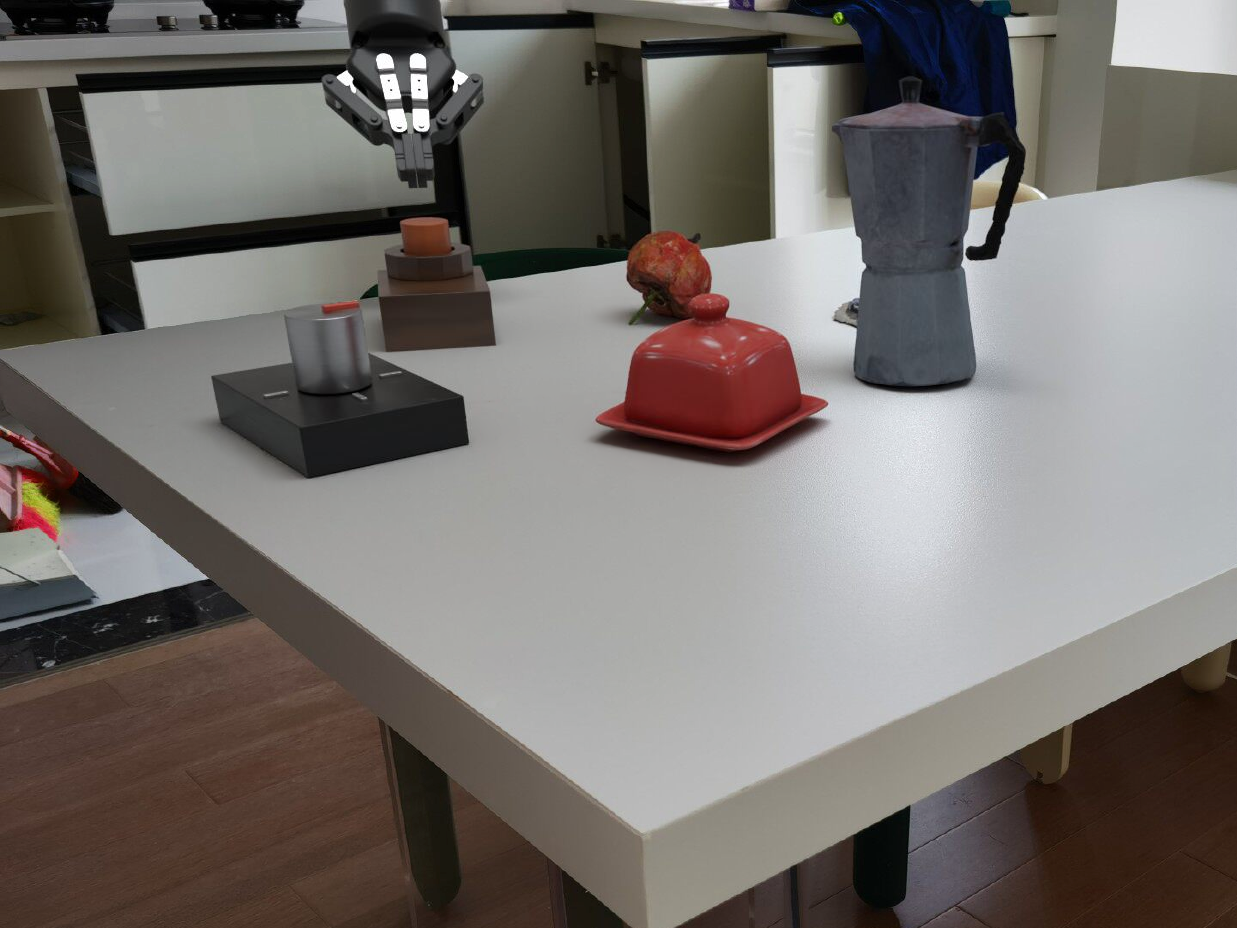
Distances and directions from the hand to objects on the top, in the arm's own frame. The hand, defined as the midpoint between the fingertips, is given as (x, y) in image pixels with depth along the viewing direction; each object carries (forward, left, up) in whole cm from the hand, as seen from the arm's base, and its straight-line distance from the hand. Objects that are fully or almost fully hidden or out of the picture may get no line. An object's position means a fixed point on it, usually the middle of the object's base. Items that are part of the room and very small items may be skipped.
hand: (417, 181), depth 110 cm
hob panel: (+4, -31, -11) cm, 33 cm away
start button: (+1, -2, -5) cm, 6 cm away
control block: (+2, -5, -11) cm, 12 cm away
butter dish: (+27, -28, -11) cm, 41 cm away
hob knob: (+4, -31, -8) cm, 32 cm away
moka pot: (+40, -14, -11) cm, 44 cm away
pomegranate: (+19, +2, -11) cm, 22 cm away
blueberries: (+36, +4, -11) cm, 38 cm away
